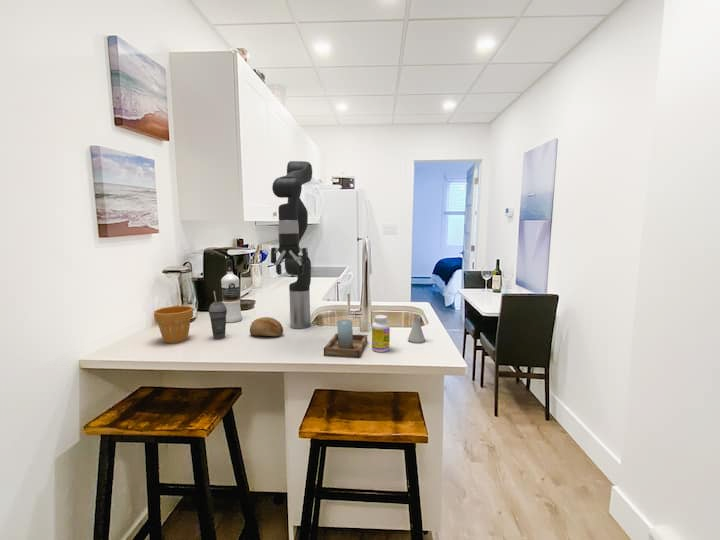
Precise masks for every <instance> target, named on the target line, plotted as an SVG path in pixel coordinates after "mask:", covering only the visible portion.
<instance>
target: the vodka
mask: <svg viewBox="0 0 720 540" xmlns="http://www.w3.org/2000/svg"><path fill="white" fill-rule="evenodd" d="M225 263H226V274H225V275H224V276H223V277H222V278H221V279H220V283H221V291H222V293H221V294H222V295H221V296H222V301H221V302H222V303H224V304H225V306H226V308H227V314H226V324H230V323H231V324H233V323H238V322H241V320H242V318H243V315H242V310H241V298H240V278H239V277H238V276H237V275H235V274H234V272H233V260H226V262H225Z"/></svg>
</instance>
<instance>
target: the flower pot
mask: <svg viewBox="0 0 720 540" xmlns="http://www.w3.org/2000/svg"><path fill="white" fill-rule="evenodd" d="M153 316H154V321H155V323H157V325H158V328H159V331H160V334H161V337H162V341H163V342H164V343H165V344H179V343H183V342H185V341H187V340H188V338H189V337H188V336H189V333H190V326H191V321H192V320H191V319H193V317H194V308H193V306H189V305H175V306H173V305H172V306H165V307H162V308H158V309H155V310H154V312H153ZM178 342H179V343H178Z"/></svg>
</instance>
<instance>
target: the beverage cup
mask: <svg viewBox="0 0 720 540" xmlns="http://www.w3.org/2000/svg"><path fill="white" fill-rule="evenodd" d="M213 295H214V301H213V302H212V303H211V304H210V306H209V308H208V315H209V317H210V323H211V324H210V325H211V332H212V336H213V339H214V340H223V339H225V338H226V326H227V323H226V314H227V308H226V306H225V304H224V303H222V301H220V300H219V301H217V297H216V291H215V290H214V291H213ZM222 338H223V339H222Z"/></svg>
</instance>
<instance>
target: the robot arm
mask: <svg viewBox="0 0 720 540" xmlns="http://www.w3.org/2000/svg"><path fill="white" fill-rule="evenodd" d="M312 178H313V166H312V164H311V163H310V162H309V161H300V160H299V161H298V160H291V161H289V162H288V163H287V165H286V175H283V176H279V177H276V178H275V179H274V181H273V183H272V187H271V188H272V192H273V194H274V195H275V197H276V198H279V199H280V198H281V199H282V198H284V199H285V198H287V203H283V204H280V205H279V206H278V229H277V230H278V231H277V232H278V247H271V248H270V263H271V264H274V265H275V271H276V274H277V276H281V275H282V273H283V272H282V262H283V261H284V270H285V273H286V274H288V275H289V276H290V275H291V276H297V280H296V281H294V282H292V283H290V284H289V286H288V288H289V289H288V290H289V292H288V293H289V316H290V317H289V318H290V319H289V320H290V321H289V322H290V328H291V329H297V330H301V329H307V328H310V327H311V301H310V300H311V296H310V295H311V294H310V292H311V291H310V289H311V288H310V287H311V282H312V279H311V278H312V262H311V259H310V257H309V253H308V252H309V251H308V248H307V247H301V248H300V242H301V240H302V238H303V237H304V235H305V233H306V231H307V229H308V217H309V216H308V214H309V213H308V209H307V207H306V206H305V204H304V203H303V201H302V200H301V198H300V197H301V195H302V194H301V193H302V189H303V188H302V186H303V185H305V184H307V183H309V182H311V181H312ZM278 253H279V254H280V255H279V256H278V257H277V254H278ZM299 253H301V254H299Z"/></svg>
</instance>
